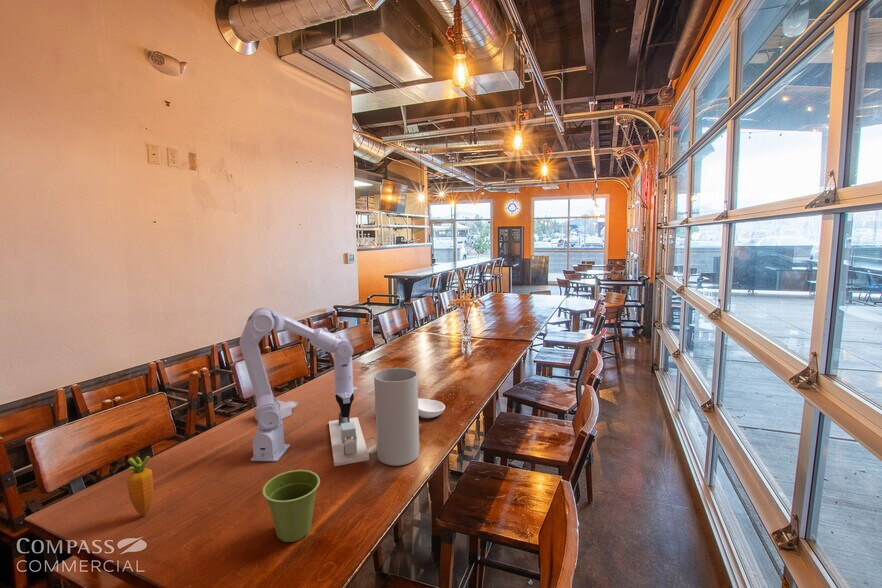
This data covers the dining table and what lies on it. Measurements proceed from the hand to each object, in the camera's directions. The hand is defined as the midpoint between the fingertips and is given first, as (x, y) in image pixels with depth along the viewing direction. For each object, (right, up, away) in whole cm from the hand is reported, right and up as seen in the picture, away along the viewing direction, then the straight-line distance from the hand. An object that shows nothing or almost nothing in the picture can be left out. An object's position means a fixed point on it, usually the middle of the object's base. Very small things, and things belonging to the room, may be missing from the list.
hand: (345, 416), depth 135 cm
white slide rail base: (+1, -7, -1) cm, 7 cm away
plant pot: (-1, -13, -42) cm, 44 cm away
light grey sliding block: (+3, -5, -7) cm, 9 cm away
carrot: (-39, -13, -36) cm, 55 cm away
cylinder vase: (+18, -9, -11) cm, 23 cm away
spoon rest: (+21, -5, +18) cm, 28 cm away
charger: (-29, -6, +20) cm, 36 cm away
